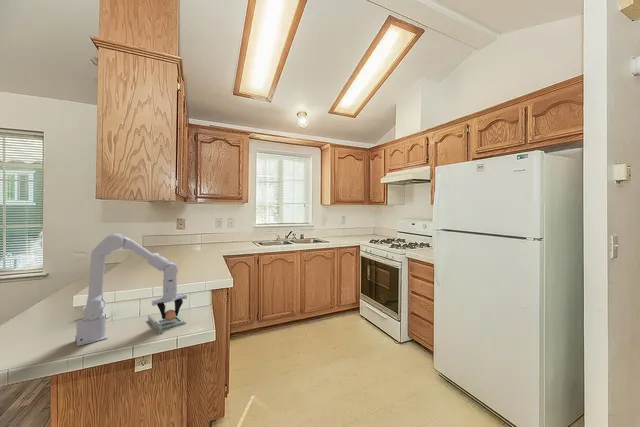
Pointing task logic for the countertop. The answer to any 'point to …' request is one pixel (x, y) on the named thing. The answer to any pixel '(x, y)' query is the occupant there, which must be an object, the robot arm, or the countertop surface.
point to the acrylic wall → (155, 324)
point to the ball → (170, 315)
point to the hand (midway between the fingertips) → (169, 317)
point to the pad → (170, 323)
